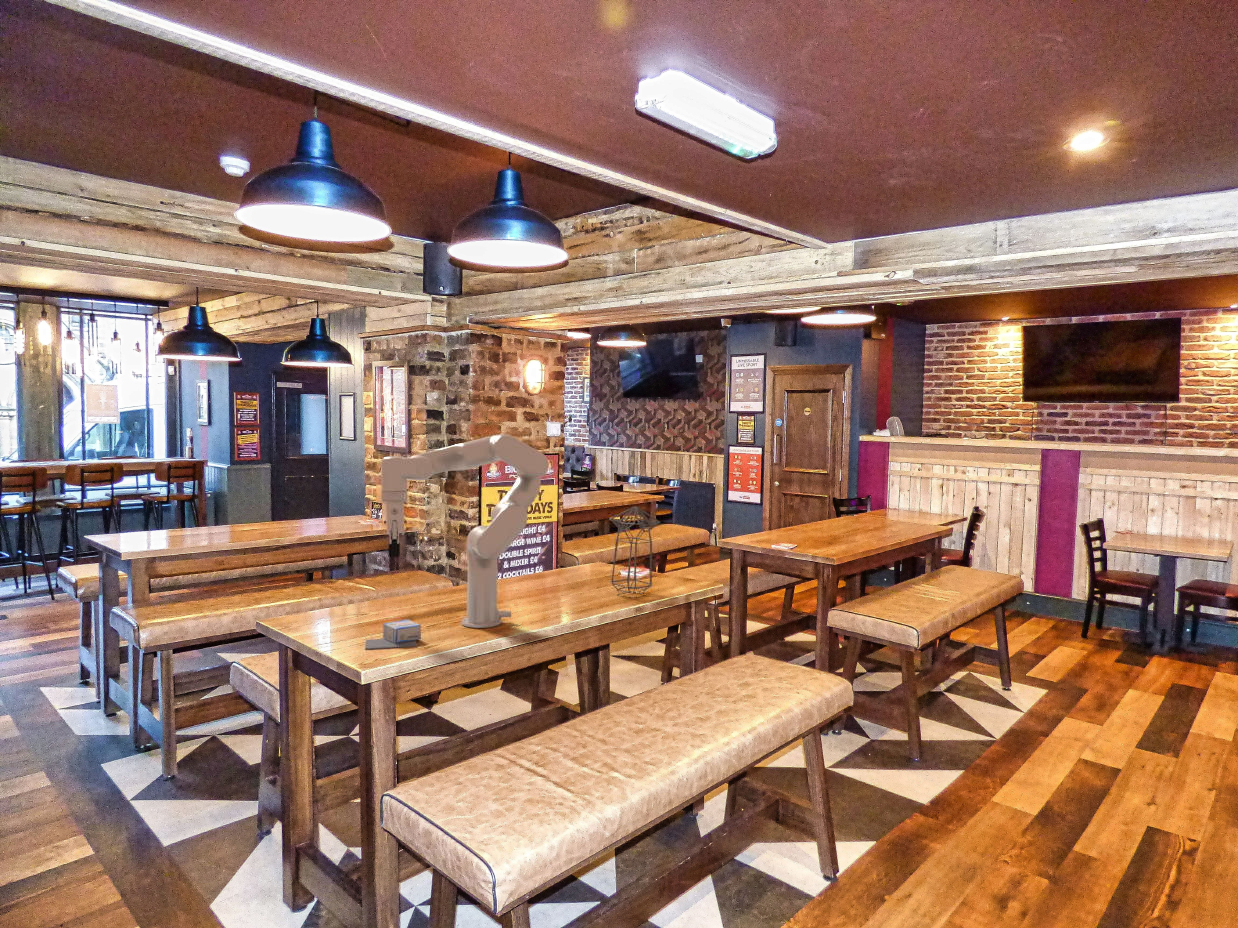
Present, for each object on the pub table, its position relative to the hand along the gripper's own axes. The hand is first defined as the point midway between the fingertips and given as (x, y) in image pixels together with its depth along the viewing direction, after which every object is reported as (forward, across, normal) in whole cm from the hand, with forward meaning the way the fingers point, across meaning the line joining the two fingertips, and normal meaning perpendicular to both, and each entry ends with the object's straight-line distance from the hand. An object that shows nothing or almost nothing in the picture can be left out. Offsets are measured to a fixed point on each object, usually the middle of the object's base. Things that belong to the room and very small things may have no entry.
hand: (394, 556), depth 221 cm
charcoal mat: (+23, -14, +1) cm, 27 cm away
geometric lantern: (+24, +33, -89) cm, 98 cm away
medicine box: (+21, -7, 0) cm, 22 cm away
